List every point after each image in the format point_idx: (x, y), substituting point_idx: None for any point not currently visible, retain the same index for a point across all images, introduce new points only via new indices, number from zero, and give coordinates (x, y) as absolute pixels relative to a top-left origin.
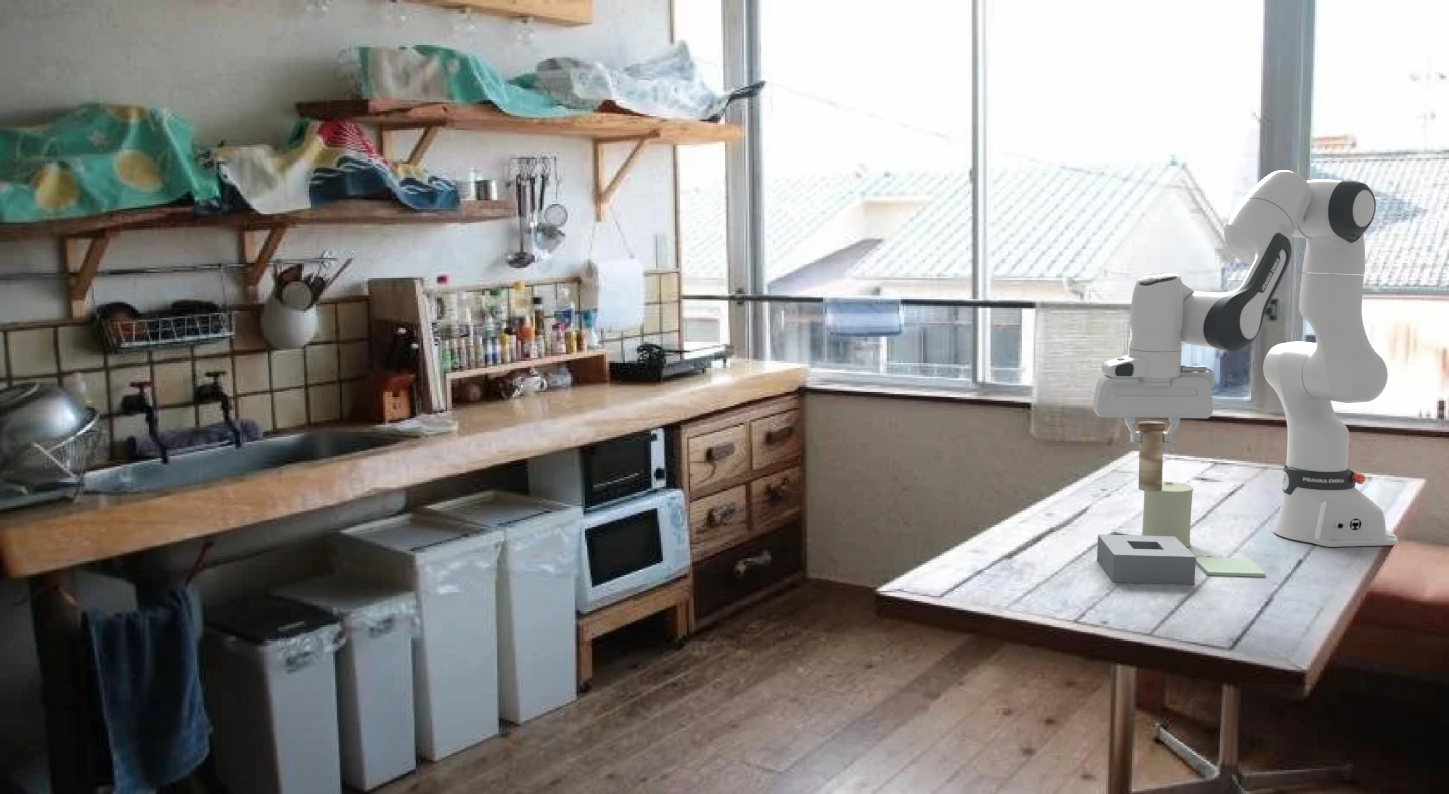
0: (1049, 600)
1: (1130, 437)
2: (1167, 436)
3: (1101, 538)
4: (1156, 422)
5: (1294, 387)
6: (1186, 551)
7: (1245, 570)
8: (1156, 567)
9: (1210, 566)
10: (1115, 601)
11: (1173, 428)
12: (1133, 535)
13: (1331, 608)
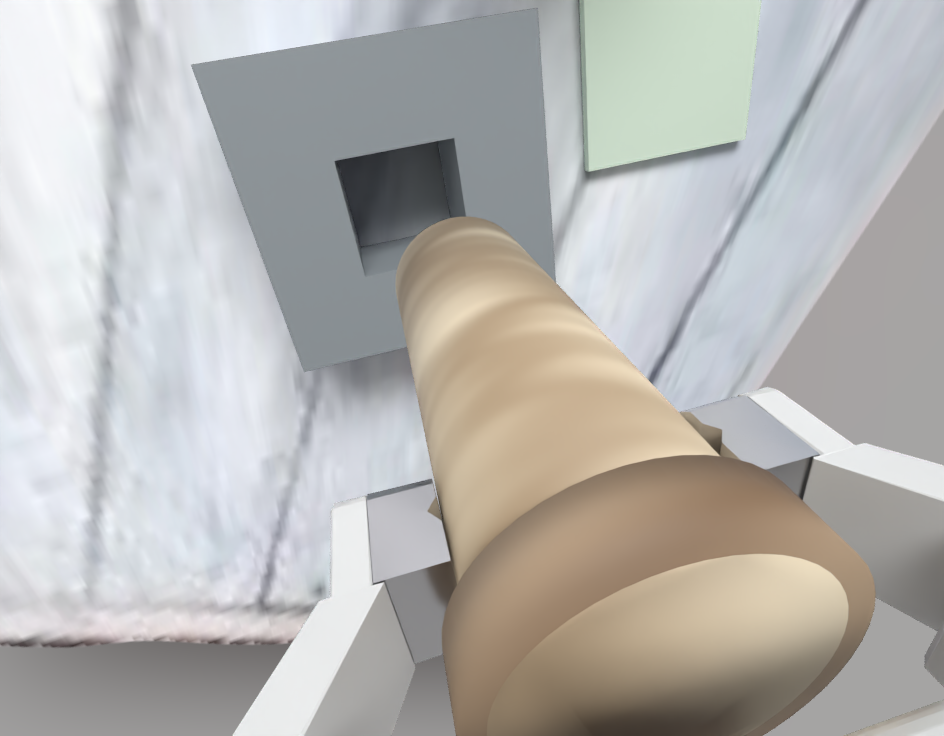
0: (173, 523)
1: (332, 531)
2: None
3: (221, 144)
4: (776, 615)
5: None
6: (540, 254)
7: (702, 116)
8: None
9: (611, 95)
10: (329, 475)
11: (884, 589)
12: (358, 39)
13: (767, 361)
